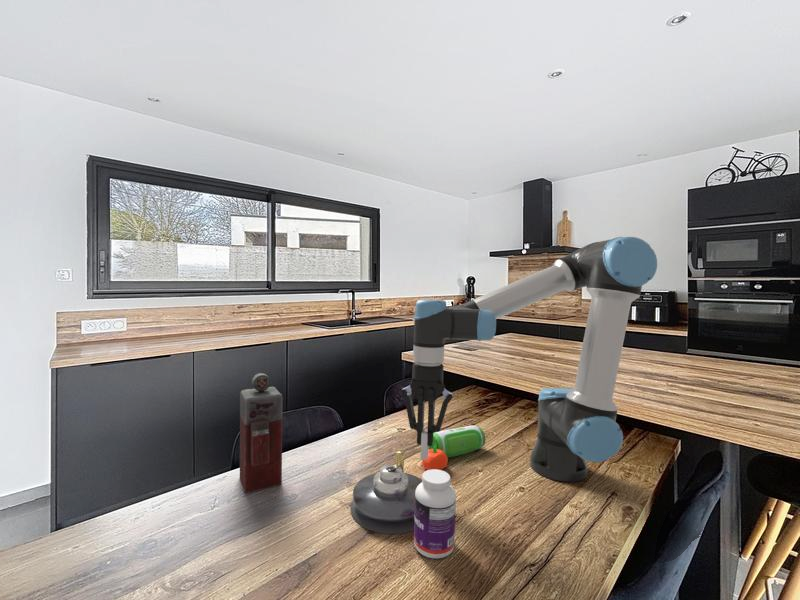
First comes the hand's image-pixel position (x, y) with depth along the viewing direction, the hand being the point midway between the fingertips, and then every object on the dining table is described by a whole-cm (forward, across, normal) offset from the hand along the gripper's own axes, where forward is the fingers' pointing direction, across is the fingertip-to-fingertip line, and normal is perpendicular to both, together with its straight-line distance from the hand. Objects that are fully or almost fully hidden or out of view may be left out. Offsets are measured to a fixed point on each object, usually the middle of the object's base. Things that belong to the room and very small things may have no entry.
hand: (424, 457), depth 93 cm
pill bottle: (+10, -6, +18) cm, 21 cm away
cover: (+6, +6, +7) cm, 11 cm away
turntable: (+7, +6, +7) cm, 12 cm away
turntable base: (+9, +6, +7) cm, 13 cm away
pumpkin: (+10, -1, -14) cm, 17 cm away
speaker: (+10, -6, -26) cm, 28 cm away
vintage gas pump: (+10, +41, +6) cm, 43 cm away
